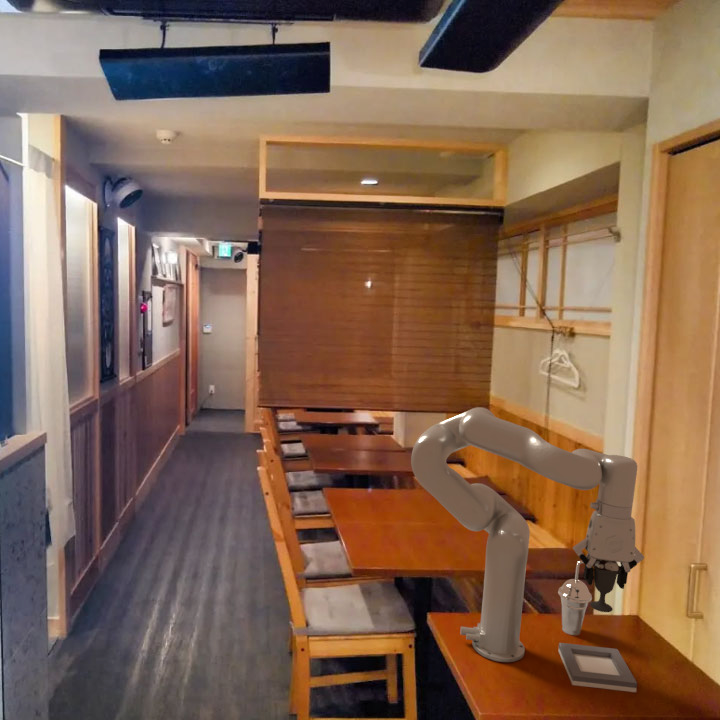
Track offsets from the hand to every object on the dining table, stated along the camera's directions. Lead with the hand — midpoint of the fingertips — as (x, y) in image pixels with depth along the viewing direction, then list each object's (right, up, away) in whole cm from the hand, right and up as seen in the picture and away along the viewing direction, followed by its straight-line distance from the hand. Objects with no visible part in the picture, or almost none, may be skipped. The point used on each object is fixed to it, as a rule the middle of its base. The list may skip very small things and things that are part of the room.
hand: (604, 583), depth 147 cm
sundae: (-1, -6, +1) cm, 6 cm away
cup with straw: (-1, -20, +20) cm, 28 cm away
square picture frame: (-1, -21, +2) cm, 21 cm away
